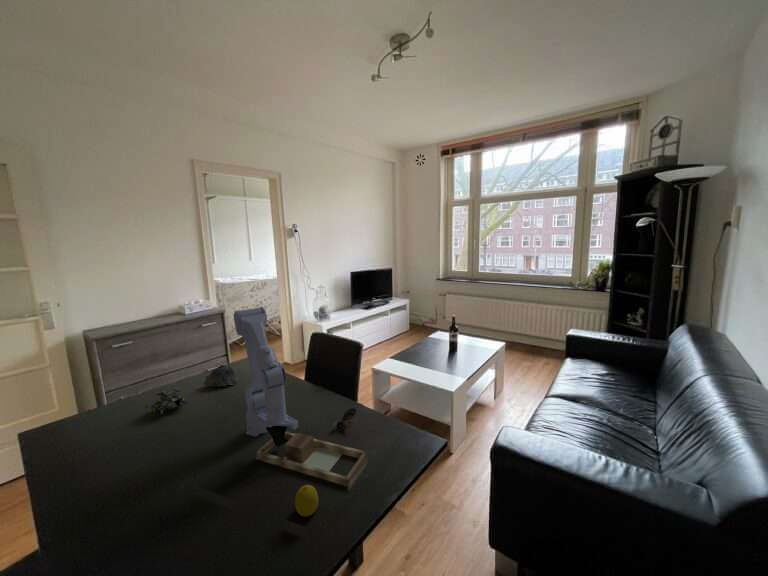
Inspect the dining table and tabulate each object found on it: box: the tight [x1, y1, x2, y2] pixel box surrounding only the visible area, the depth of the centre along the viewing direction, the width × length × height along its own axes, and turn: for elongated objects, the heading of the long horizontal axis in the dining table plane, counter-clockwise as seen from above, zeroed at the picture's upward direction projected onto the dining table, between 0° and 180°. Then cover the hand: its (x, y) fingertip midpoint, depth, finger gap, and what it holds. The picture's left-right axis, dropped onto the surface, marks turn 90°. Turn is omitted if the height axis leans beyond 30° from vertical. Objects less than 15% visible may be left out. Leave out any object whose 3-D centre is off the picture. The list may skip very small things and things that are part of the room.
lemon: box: [294, 484, 319, 518], centre depth 79 cm, size 6×6×8 cm
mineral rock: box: [203, 364, 239, 388], centre depth 152 cm, size 13×11×10 cm
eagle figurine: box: [332, 407, 357, 432], centre depth 115 cm, size 8×7×9 cm
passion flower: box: [145, 387, 188, 416], centre depth 129 cm, size 11×11×12 cm
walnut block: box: [284, 432, 314, 464], centre depth 99 cm, size 6×6×5 cm
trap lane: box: [254, 431, 369, 492], centre depth 98 cm, size 32×12×4 cm, turn 68°
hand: (279, 444), depth 102 cm, fingers closed
